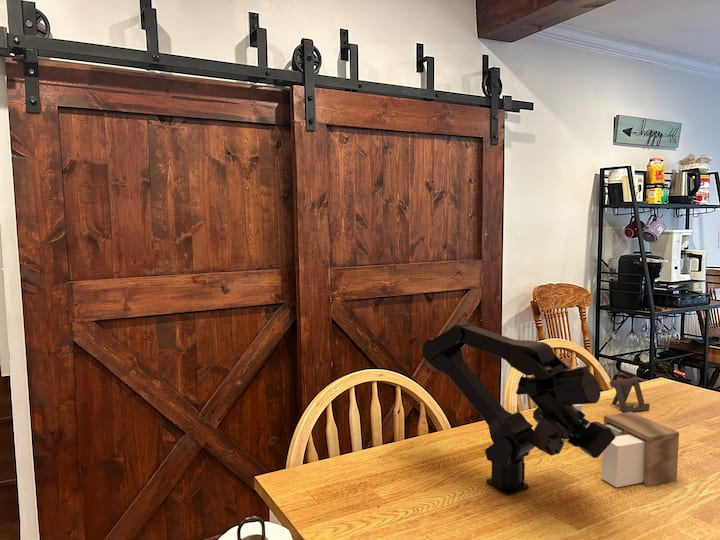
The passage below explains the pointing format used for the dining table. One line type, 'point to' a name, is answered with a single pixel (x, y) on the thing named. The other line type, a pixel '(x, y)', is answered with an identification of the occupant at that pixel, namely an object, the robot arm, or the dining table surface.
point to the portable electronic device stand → (623, 392)
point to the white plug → (624, 460)
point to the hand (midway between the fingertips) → (591, 451)
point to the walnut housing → (650, 445)
